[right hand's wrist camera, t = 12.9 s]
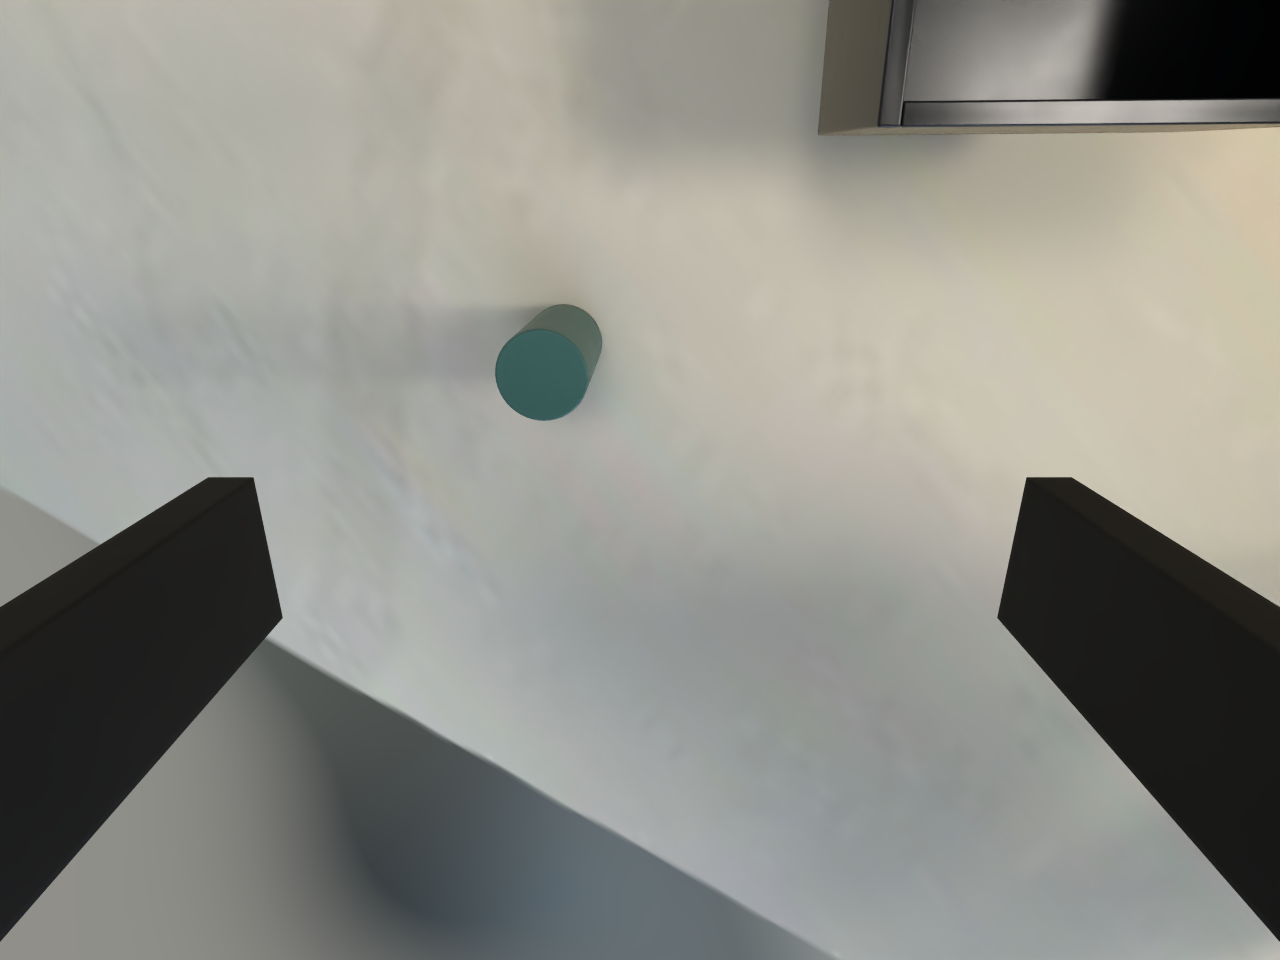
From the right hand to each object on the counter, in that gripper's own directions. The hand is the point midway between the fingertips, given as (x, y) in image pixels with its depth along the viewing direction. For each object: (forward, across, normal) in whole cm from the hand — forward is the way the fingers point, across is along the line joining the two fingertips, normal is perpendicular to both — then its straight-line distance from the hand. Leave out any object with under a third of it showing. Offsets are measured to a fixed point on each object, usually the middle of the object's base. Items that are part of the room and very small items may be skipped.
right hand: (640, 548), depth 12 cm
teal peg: (+24, +4, +1) cm, 24 cm away
